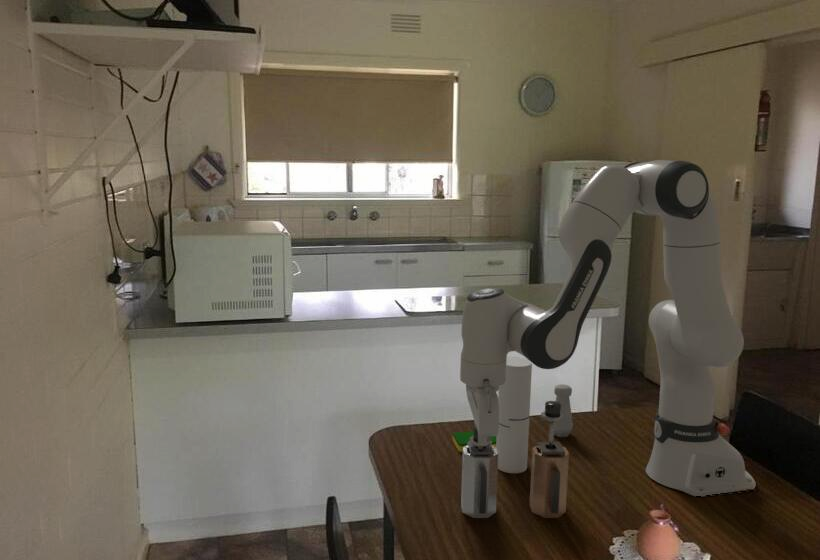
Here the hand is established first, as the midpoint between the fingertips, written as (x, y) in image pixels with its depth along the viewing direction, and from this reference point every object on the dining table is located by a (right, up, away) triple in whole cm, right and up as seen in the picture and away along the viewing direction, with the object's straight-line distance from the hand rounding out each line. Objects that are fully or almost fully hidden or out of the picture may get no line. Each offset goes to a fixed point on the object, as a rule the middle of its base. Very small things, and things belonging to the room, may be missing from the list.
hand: (480, 439), depth 131 cm
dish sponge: (+4, -10, +33) cm, 35 cm away
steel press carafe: (0, -15, +2) cm, 15 cm away
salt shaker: (+25, -9, +40) cm, 48 cm away
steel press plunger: (0, -10, +2) cm, 10 cm away
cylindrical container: (+9, -12, +22) cm, 26 cm away
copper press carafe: (+14, -15, +2) cm, 21 cm away
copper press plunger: (+14, -5, +1) cm, 15 cm away
